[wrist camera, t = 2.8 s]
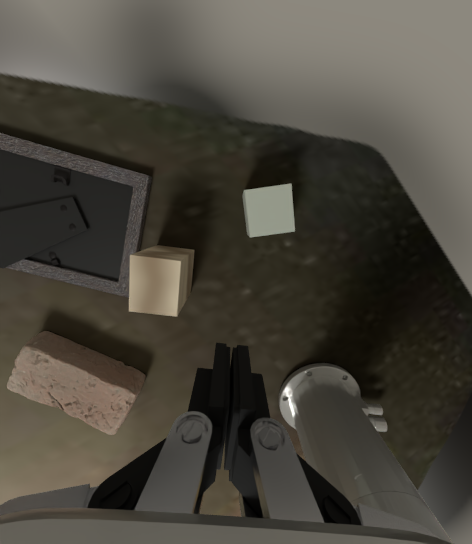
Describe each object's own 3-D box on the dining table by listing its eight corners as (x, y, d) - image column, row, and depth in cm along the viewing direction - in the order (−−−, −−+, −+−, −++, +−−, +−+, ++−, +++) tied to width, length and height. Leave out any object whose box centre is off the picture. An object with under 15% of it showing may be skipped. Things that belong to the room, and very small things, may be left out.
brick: (28, 369, 34) (-3, 393, 30) (45, 326, 32) (15, 343, 28) (129, 410, 36) (115, 438, 32) (150, 371, 35) (138, 395, 30)
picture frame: (-21, 255, 30) (133, 293, 32) (-39, 258, 28) (126, 298, 30) (-21, 128, 27) (153, 178, 28) (-41, 121, 25) (147, 175, 26)
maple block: (194, 249, 30) (180, 261, 22) (190, 291, 31) (176, 316, 23) (157, 245, 30) (129, 254, 22) (155, 287, 31) (129, 311, 23)
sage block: (281, 189, 28) (291, 183, 23) (284, 229, 29) (294, 231, 25) (242, 195, 28) (244, 190, 24) (247, 234, 30) (250, 237, 25)
